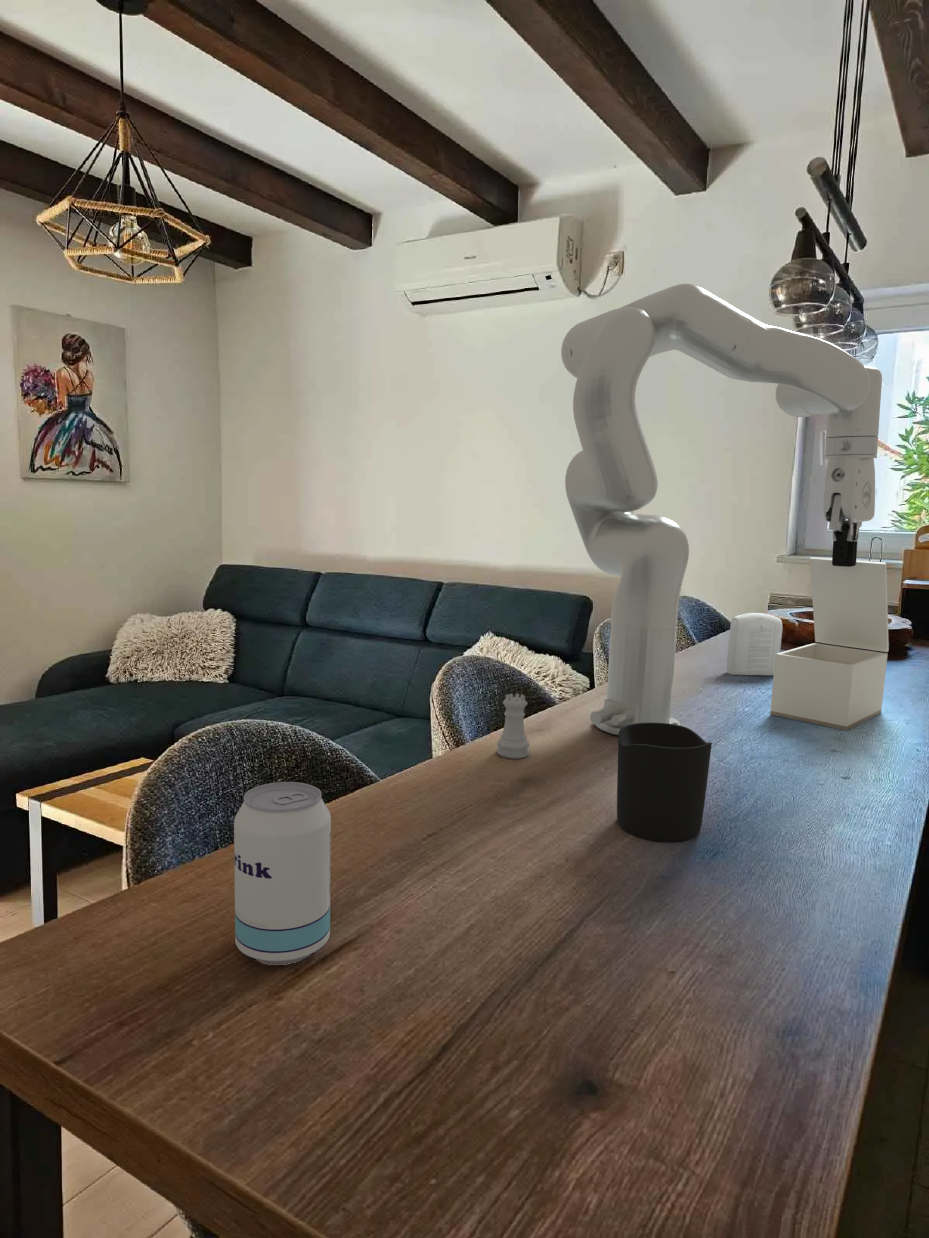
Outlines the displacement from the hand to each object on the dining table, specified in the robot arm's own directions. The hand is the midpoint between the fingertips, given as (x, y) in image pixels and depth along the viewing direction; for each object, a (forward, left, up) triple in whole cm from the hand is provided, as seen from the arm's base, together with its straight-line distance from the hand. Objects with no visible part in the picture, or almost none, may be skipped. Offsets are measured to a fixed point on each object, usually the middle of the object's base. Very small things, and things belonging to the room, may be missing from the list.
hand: (843, 565), depth 135 cm
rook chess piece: (-57, +20, -25) cm, 65 cm away
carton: (-1, 0, -24) cm, 24 cm away
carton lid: (+4, 0, -7) cm, 8 cm away
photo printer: (+19, +22, -25) cm, 38 cm away
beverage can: (-106, +1, -25) cm, 109 cm away
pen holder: (-64, -6, -25) cm, 69 cm away
